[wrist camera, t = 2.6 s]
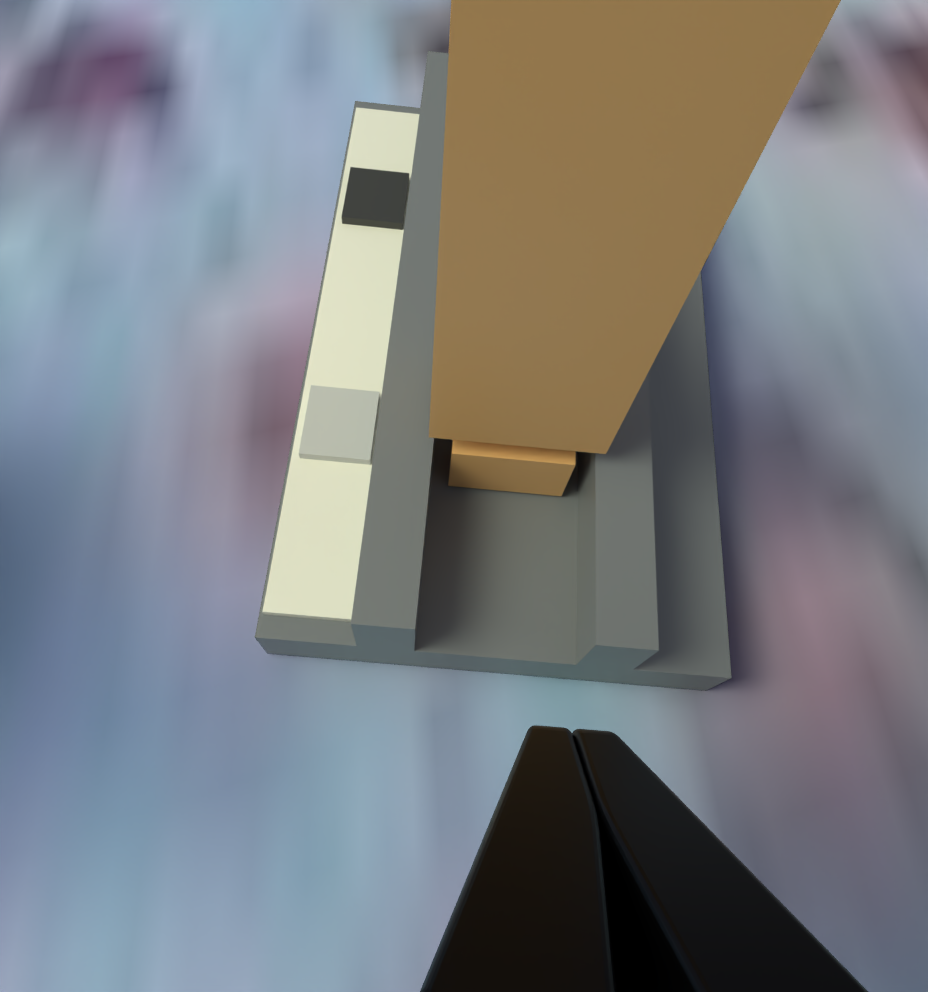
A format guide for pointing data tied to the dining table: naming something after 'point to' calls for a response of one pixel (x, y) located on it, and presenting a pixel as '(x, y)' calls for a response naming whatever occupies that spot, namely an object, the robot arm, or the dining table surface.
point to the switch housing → (470, 511)
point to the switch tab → (587, 207)
